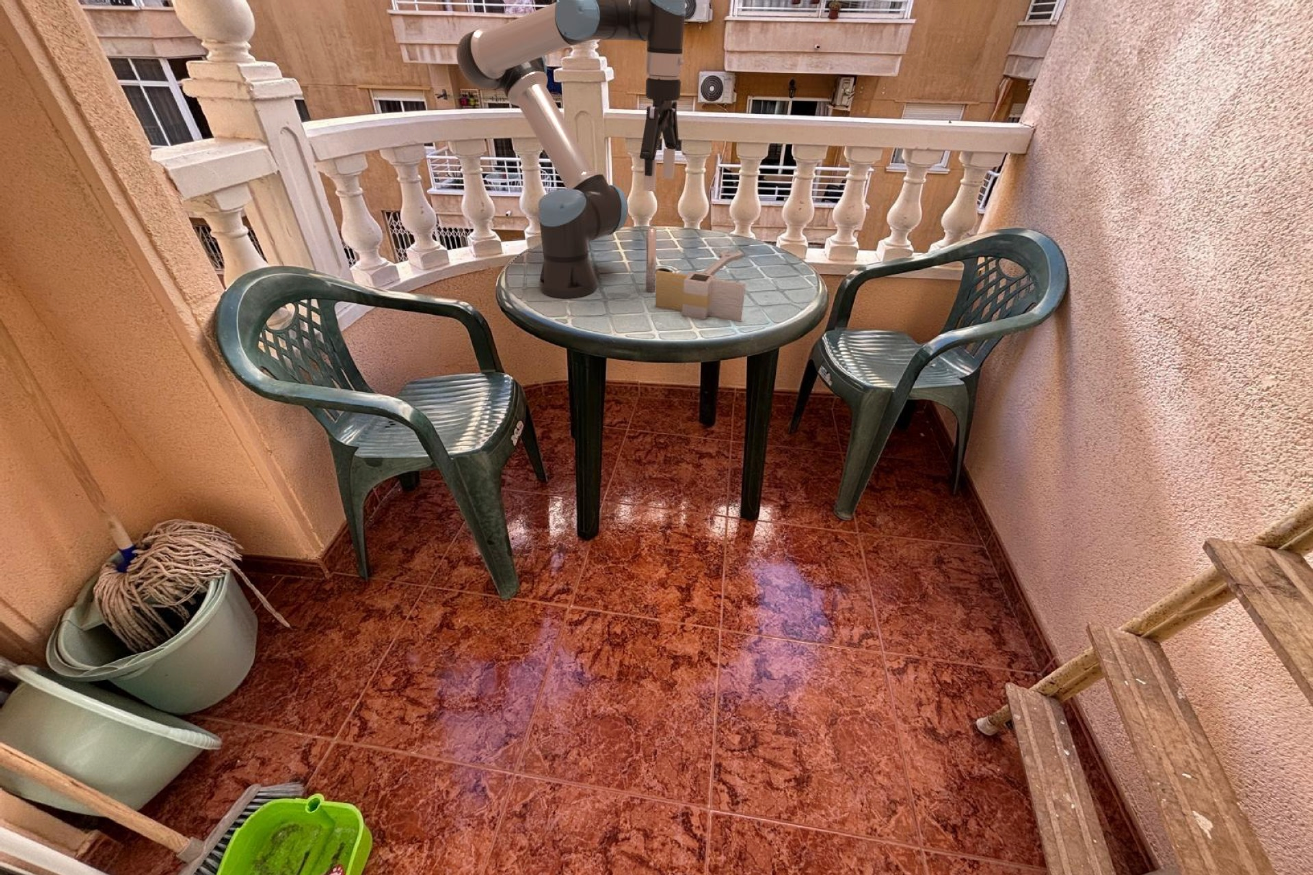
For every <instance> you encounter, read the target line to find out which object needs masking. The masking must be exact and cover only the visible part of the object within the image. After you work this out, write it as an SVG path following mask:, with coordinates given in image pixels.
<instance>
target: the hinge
mask: <svg viewBox="0 0 1313 875" xmlns="http://www.w3.org/2000/svg"><path fill="white" fill-rule="evenodd" d="M716 277H717V275H715V274H713V275H710V274H703V273H701V272H696V271H691V272H690V273H689V274H683V273H676V272H670V271H664V270H657V269H656V281H655V308H661V309H666V310H672V311H678V312H681V314H682V315H681V316H682V317H687V318H692V319H698V320H703V321H706V320H707V318H708V317H713V318H718V319H723V320H730V321H734V322H735V321H736V322H741V321H742V318H743V310H744V301H745V296H746V294H745V292H746V286H747V284H746V283H742V282H736V281H729V280H722V279H717V278H716Z"/></svg>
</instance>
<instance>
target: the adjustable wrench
mask: <svg viewBox="0 0 1313 875" xmlns="http://www.w3.org/2000/svg"><path fill="white" fill-rule="evenodd" d="M729 251H730V250H729V249H724V250H722V251H721V252H719V253H718V258H719V259H718V260H716V261H715V262H713V263H712V264H711V265H709V266H708V267H707V268H705V269H704V270H703V271H701V272H700V273H703V274H710V275H715V273H717V272H719V270H720V269H722V268H723V267H724V266H726V265H727V264H728V263H731V262H734V261H738V260H741V259H742V258H743V252H742V251H741V250H737V252H735V253H733V252H731V253H730V252H729ZM740 258H741V259H740ZM733 260H734V261H733Z"/></svg>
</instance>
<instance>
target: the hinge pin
mask: <svg viewBox="0 0 1313 875" xmlns="http://www.w3.org/2000/svg"><path fill="white" fill-rule="evenodd" d="M645 230H646V235H645V236H646V238H645V239H646V243H645V244H646V248H645V256H646V257H645V259H646V260H645V263H646V264H645V269H646V270H645V292H647V293H654V292H655V293H656V271H657V266H656V265H657V228H655V227H647V228H646V229H645Z"/></svg>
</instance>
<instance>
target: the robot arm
mask: <svg viewBox="0 0 1313 875" xmlns="http://www.w3.org/2000/svg"><path fill="white" fill-rule="evenodd" d="M686 15H687V11H686V0H556V2H554V3H550V4H549V5H546V6H544V7H541V8H539V9H537V10H535V11H533V12H530V13H528V14H526V15H523V16H520V17H518V18H516V19H513V20H511V21H509V22H507V23H505V24H502V25H500V26H497V27H495V28H493V29H489V28H486V27H482V28H481V27H480V28H477V29H475V30H473V31H471V32H470V31H469V32H467V33H466V34H464V36H462V37H461V39H460V41H459V43H458V45H457V49H456V60H457V64H458V66H459V70H460V71H461V74H462V75H463V76H464V78H465V79H466V80H467V81H468V82H469V83H470V84H471V85H473V86H475V87H477V88H479V89H482V90H486V91H487V90H502V91H503V93H504V95H505V96H506V98H507V100H508V102H509V104H511V105H513V106H517V107H518V108H519V109H520V111H521V113H522V114H523V116H524V118H525V119H526V121H527V123H528V125H529V127H530V128H531V130H532V132H533V133H534V135H535V137H536V138H537V140H538V142H539V143H540V145H541V147H542V149H543V150H544V151H545V154H546V156H547V157H548V159H549V160H550V162H551V164H552V166H553V167H554V169H555V171H556V173H557V174H558V177H560V179H561V181H562V183H563V185H564V186H565V189H560V190H559V189H557V190H553V191H550V192H548V193H546V194H544V195H542V197H540V199H539V200H538V205H537V206H538V216H537V217H538V222H539V230H540V238H541V246H542V256H543V262H542V266H541V272H540V277H539V289H540V290H539V291H541V293H542V294H544V295H547V296H549V297H553V298H559V299H561V298H562V299H571V298H572V299H574V298H579V297H584V296H588V295H590V294H592V293H594V292H595V291H596V290H597V287H598V282H597V281H598V280H597V276H596V274H595V271H594V269H593V266H592V265H593V264H592V262H591V260H590V256H589V242H591V241H595V240H598V239H600V238H604V237H607V236H610V235H613V234H615V233H616V232H618V231H619V230H621V229H622V228H623V227H624V226H625V224H626V223H627V220H628V213H629V204H628V200H627V197H626V195H625V193H624V192H623V190H622V189H621V188H620V187H618V186H615V185H613V184H609V182H608V181H607V180H606V177H605V176H604V174H603V173H601V172H598V171H597V172H596V171H595V170H594V168H593V166H592V165H591V163H590V161H589V159H588V158H587V155H586V154H585V152H584V151H583V148H582V147H581V145H580V144H579V142H578V140H577V139H576V137H575V135H574V133H573V132H572V130H571V128H570V126H569V124H568V123H567V121H566V119H565V117H564V116H563V114H562V112H561V111H560V109H559V107H558V105H557V103H556V102H555V100H554V98H553V96H552V95H551V93H550V91H549V89H548V88H547V85H548V79H549V78H548V75H547V72H548V66H547V65H548V64H547V65H546V61H547V58H546V56H548V55H551V54H553V53H554V54H555V53H556V52H559V51H561V50H565V49H567V48H570V47H572V46H575V45H580V44H583V43H586V42H589V41H593V40H594V41H595V40H596V41H597V40H598V41H599V40H604V41H605V40H607V41H609V40H610V41H611V40H612V41H613V40H614V41H640V42H646V58H645V59H646V62H645V63H646V64H645V74H646V75H648V77H647V78H646V79H645V96H646V98H647V99H649V100H652V106H651V105H650V106H649V105H648V106H646V115H645V116H646V117H645V124H644V130H643V136H642V141H641V146H640V147H641V148H640V153H639V158H640V159H641V160H643V179H642V180H643V181H642V182H643V189H642V190H643V191H646V192H654V193H655V192H656V182H657V181H656V180H657V163H658V162H657V160H658V159H656V156H657V151H658V147H659V145H660V140H661V136H662V138H663V142H664V148H663V159H662V174H661V176H662V177H661V178H662V179H665V180H666V179H668V180H674V178H675V176H674V175H675V161H676V150H679V149H680V144H679V142H680V139H679V126H678V116H677V115H678V114H677V112H678V111H677V110H678V109H677V108H678V102H677V101H678V100H680V98H681V87H682V86H681V84H682V81H681V80H680V79H679V77H681V75H682V68H683V66H684V64H685V60H684V59H683V46H684V45H683V44H684V32H685V31H684V30H685V21H686Z"/></svg>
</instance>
